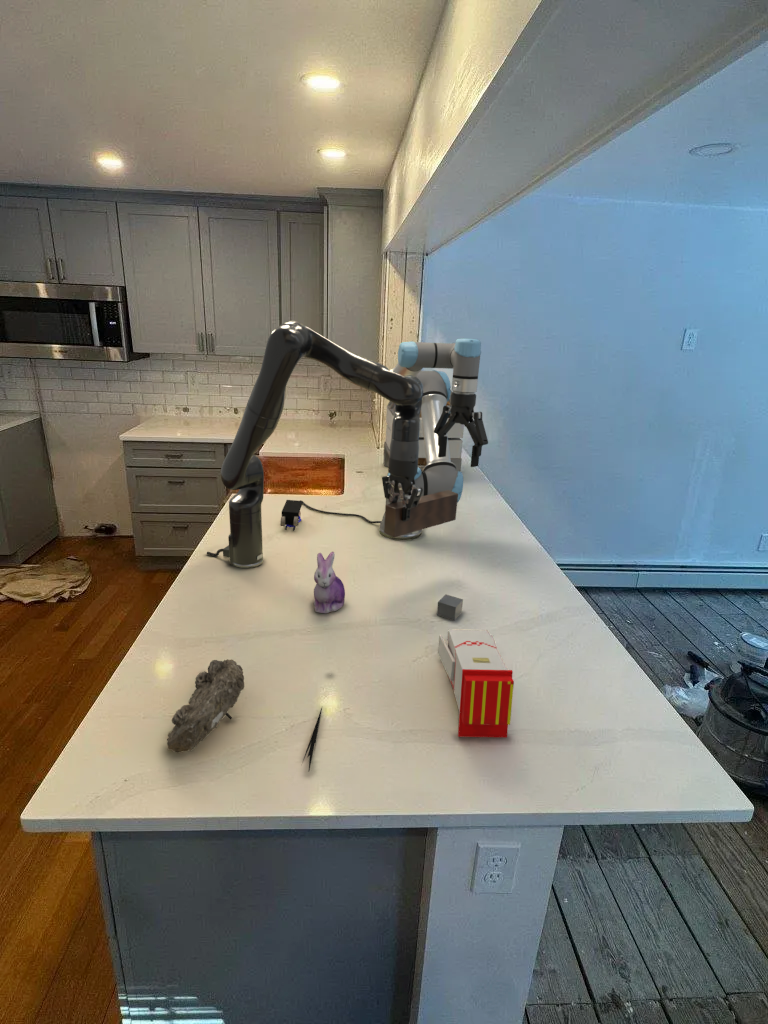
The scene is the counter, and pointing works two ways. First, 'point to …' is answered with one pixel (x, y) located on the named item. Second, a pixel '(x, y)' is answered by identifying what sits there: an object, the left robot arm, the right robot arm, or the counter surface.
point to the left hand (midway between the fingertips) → (399, 517)
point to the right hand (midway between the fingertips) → (457, 461)
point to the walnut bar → (421, 513)
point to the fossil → (206, 705)
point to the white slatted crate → (452, 435)
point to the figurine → (327, 586)
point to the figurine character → (291, 514)
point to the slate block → (449, 607)
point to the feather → (313, 740)
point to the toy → (478, 682)
